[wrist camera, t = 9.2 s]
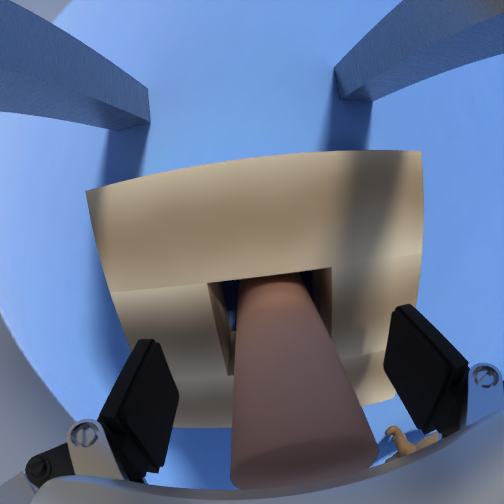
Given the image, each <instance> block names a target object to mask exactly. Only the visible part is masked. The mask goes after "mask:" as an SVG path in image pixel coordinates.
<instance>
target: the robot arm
mask: <svg viewBox="0 0 504 504" xmlns="http://www.w3.org/2000/svg"><path fill="white" fill-rule="evenodd" d="M468 363H469V362H468V361H467V360H466V359H465V358H464V357H463V356H462V355H461V354H460V353H459V351H458V350H457V349H456V348H455V347H454V346H453V345H452V344H451V343H450V342H449V341H448V340H447V339H446V338H445V337H444V336H443V335H442V334H441V333H440V332H439V331H438V330H437V329H436V328H435V327H434V326H433V325H432V324H431V323H430V322H429V321H428V320H427V319H426V318H425V317H424V316H423V315H422V314H421V313H420V312H419V311H418V310H417V309H416V308H415V307H413V306H412V305H411V304H405V305H401V306H397V307H396V308H395V311H393V312H392V314H391V320H390V327H389V334H388V340H387V346H386V351H385V357H384V362H383V368H384V371H385V373H386V375H387V377H388V378H389V380H390V382H391V383H392V385H393V387H394V388H395V390H396V392H397V394H398V395H399V397H400V399H401V400H402V402H403V404H404V406H405V407H406V409H407V411H408V413H409V415H410V416H411V418H412V420H413V422H414V424H415V425H416V427H417V428H418V429H422V431H423V433H424V435H425V434H427V433H430V432H432V431H434V430H437V431H438V433H439V435H438V439H437V442H435V443H433V444H431V445H429V446H426V447H424V448H422V449H420V450H417V451H415V452H413V453H410V454H408V455H405V456H403V457H400V458H398V459H395V460H392V461H389V462H387V463H384V464H381V465H378V466H375V467H372V468H368V469H365V470H362V471H358V472H354V473H351V474H347V475H343V476H339V477H335V478H330V479H326V480H321V481H316V482H310V483H304V484H298V485H291V486H283V487H274V488H262V489H246V490H202V489H186V488H175V487H165V486H157V485H149V484H148V483H147V481H146V479H145V478H144V477H145V476H146V472H151V473H158V472H159V468H160V467H163V466H164V463H165V459H166V454H167V450H168V445H169V441H170V436H171V432H172V428H173V423H174V419H175V415H176V411H177V407H178V403H179V391H178V389H177V386H176V384H175V381H174V379H173V376H172V374H171V371H170V369H169V366H168V364H167V361H166V358H165V356H164V353H163V350H162V348H161V345H160V343H159V342H156V341H155V340H154V339H139V340H138V341H137V343H136V345H135V347H134V349H133V350H132V352H131V354H130V356H129V358H128V360H127V362H126V363H125V365H124V367H123V369H122V371H121V373H120V375H119V377H118V379H117V381H116V382H115V384H114V386H113V388H112V390H111V392H110V394H109V396H108V398H107V400H106V402H105V404H104V406H103V408H102V410H101V412H100V414H99V417H98V419H97V421H96V420H93V419H83V420H80V421H78V422H76V423H74V424H73V425H72V426H71V427H70V429H69V430H68V433H67V443H64V444H62V445H60V446H58V447H55V448H53V449H51V450H48V451H46V452H43V453H41V454H38V455H36V456H34V457H32V458H31V459H30V460H29V461H28V463H27V465H26V469H25V471H26V473H25V474H24V473H23V472H20V473H19V474H17V475H16V476H14V477H13V478H11V479H10V480H8V481H7V482H5V483H4V484H2V485H1V486H0V504H504V381H503V379H502V375H501V372H500V371H499V369H498V368H496V367H495V366H494V365H491V364H489V363H478V364H475V365H474V366H473V367H471V369H470V368H469V367H468Z"/></svg>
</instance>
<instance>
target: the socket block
mask: <svg viewBox="0 0 504 504" xmlns="http://www.w3.org/2000/svg"><path fill="white" fill-rule="evenodd" d="M86 197H87V203H88V208H89V213H90V218H91V223H92V228H93V232H94V237H95V241H96V245H97V249H98V253H99V257H100V261H101V264H102V268H103V271H104V275H105V278H106V282H107V285H108V288H109V291H110V294H111V297H112V300H113V303H114V306H115V309H116V312H117V315H118V318H119V320H120V323H121V326H122V328H123V331H124V334H125V336H126V339H127V341H128V344H129V346H130V349H131V351H132V350H133V349H134V347H135V345H136V343H137V341H138V340H139V339H154V340H155V341H156V342H159V343H160V345H161V348H162V350H163V353H164V356H165V358H166V361H167V364H168V366H169V369H170V371H171V374H172V376H173V379H174V381H175V384H176V386H177V389H178V391H179V403H178V407H177V411H176V415H175V419H174V423H173V428H232V414H233V389H234V366H235V344H236V331H231V328H230V323H229V318H228V313H227V307H226V302H225V297H224V291H223V286H222V281H228V280H237V279H245V278H253V277H261V276H269V275H277V274H285V273H292V272H300V271H307V270H312V290H313V302H314V304H315V307H316V309H317V311H318V313H319V315H320V317H321V319H322V321H323V323H324V325H325V328H326V330H327V332H328V334H329V336H330V338H331V340H332V343H333V345H334V347H335V349H336V351H337V353H338V356H339V358H340V360H341V362H342V364H343V367H344V369H345V371H346V373H347V375H348V378H349V380H350V382H351V384H352V387H353V389H354V391H355V393H356V396H357V398H358V400H359V403H360V405H361V407H364V406H368V405H372V404H375V403H378V402H382V401H385V400H388V399H391V398H394V396H395V393H396V390H395V388H394V387H393V385H392V383H391V382H390V380H389V378H388V377H387V375H386V373H385V371H384V368H383V362H384V357H385V351H386V346H387V340H388V334H389V327H390V320H391V314H392V312H393V311H395V308H396V307H397V306H401V305H405V304H411V305H412V306H413V307H415V308H416V302H417V295H418V287H419V279H420V270H421V259H422V245H423V221H424V193H423V169H422V155H421V151H399V150H352V151H326V152H308V153H295V154H283V155H273V156H263V157H254V158H246V159H238V160H231V161H224V162H217V163H211V164H204V165H198V166H193V167H187V168H182V169H176V170H171V171H166V172H161V173H156V174H152V175H147V176H143V177H138V178H134V179H130V180H126V181H122V182H118V183H114V184H110V185H106V186H102V187H99V188H95V189H91V190H88V191H86Z"/></svg>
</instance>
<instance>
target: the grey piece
mask: <svg viewBox="0 0 504 504" xmlns="http://www.w3.org/2000/svg"><path fill="white" fill-rule="evenodd" d="M500 54H504V0H403V1H402V2H401V3H399V4H398V5H397V6H396V7H395V8H394V9H393V10H392V11H391V12H390V13H388V14H387V15H386V16H385V17H384V18H383V19H382V20H381V21H380V22H379V23H378V24H377V25H376V26H375V27H374V28H372V29H371V30H370V31H369V32H368V33H367V34H366V35H365V36H364V37H363V38H362V39H361V40H360V41H359V42H358V43H357V44H356V45H355V46H354V47H353V48H352V49H351V50H350V51H349V52H348V53H347V54H346V55H345V56H344V57H343V58H342V60H341V61H340V62H339V63H338V64H337V65H336V66H335V67H334V68H335V73H336V78H337V84H338V89H339V95H340V100H359V101H375V100H377V99H379V98H382V97H384V96H386V95H388V94H391V93H393V92H395V91H398V90H400V89H402V88H405V87H407V86H409V85H412V84H414V83H417V82H419V81H422V80H424V79H427V78H430V77H432V76H435V75H438V74H440V73H443V72H446V71H449V70H451V69H454V68H457V67H460V66H463V65H466V64H469V63H472V62H476V61H479V60H482V59H486V58H489V57H493V56H496V55H500ZM0 111H1V112H11V113H20V114H27V115H35V116H41V117H48V118H54V119H60V120H65V121H71V122H76V123H81V124H86V125H91V126H96V127H101V128H105V129H109V130H114V131H120V130H124V129H127V128H130V127H134V126H137V125H141V124H145V123H149V122H151V121H150V111H149V99H148V88H146V87H145V86H144V85H142V84H141V83H140V82H138V81H137V80H136V79H134V78H133V77H131V76H130V75H129V74H127V73H126V72H125V71H123V70H122V69H120V68H119V67H118V66H116V65H115V64H113V63H112V62H110V61H109V60H108V59H106V58H105V57H103V56H102V55H100V54H99V53H97V52H96V51H94V50H93V49H91V48H90V47H88V46H87V45H85V44H84V43H82V42H81V41H79V40H78V39H76V38H75V37H73V36H71V35H70V34H68V33H67V32H65V31H63V30H62V29H60V28H58V27H57V26H55V25H53V24H52V23H50V22H48V21H47V20H45V19H43V18H41V17H39V16H38V15H36V14H34V13H33V12H31V11H29V10H27V9H25V8H23V7H21V6H19V5H18V4H16V3H14V2H12V1H10V0H0Z"/></svg>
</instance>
